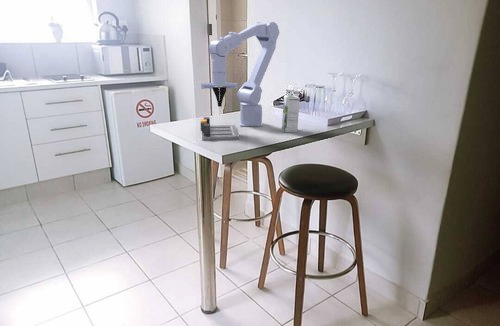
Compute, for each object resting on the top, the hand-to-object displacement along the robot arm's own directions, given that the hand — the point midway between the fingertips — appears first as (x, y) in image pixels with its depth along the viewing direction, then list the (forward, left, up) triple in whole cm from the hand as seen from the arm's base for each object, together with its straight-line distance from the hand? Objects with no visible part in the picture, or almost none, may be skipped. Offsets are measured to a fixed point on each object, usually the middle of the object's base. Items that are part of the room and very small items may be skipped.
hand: (219, 106), depth 148 cm
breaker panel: (0, +7, -10) cm, 12 cm away
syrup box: (-29, +4, -10) cm, 31 cm away
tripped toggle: (+7, +7, -8) cm, 12 cm away
